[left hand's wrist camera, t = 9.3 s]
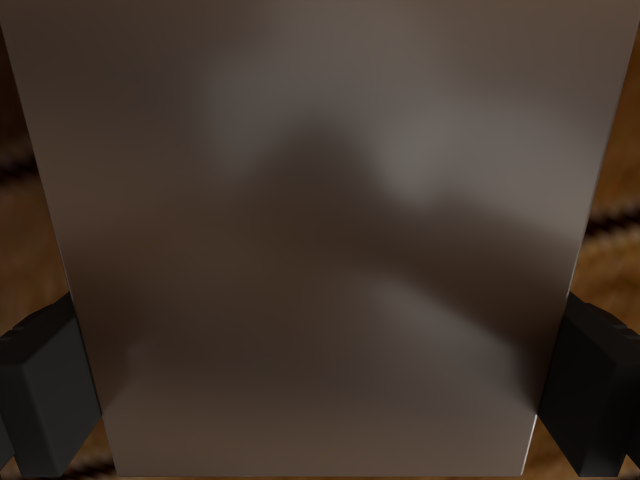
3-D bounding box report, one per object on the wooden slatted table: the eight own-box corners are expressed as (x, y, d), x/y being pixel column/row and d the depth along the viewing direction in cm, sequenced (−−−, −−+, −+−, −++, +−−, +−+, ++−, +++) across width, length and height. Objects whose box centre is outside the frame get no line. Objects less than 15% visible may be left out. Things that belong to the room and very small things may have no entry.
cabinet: (158, -206, 12) (-268, -989, 3) (481, -205, 12) (906, -986, 3) (213, 293, 19) (116, 478, 10) (426, 294, 19) (523, 478, 10)
